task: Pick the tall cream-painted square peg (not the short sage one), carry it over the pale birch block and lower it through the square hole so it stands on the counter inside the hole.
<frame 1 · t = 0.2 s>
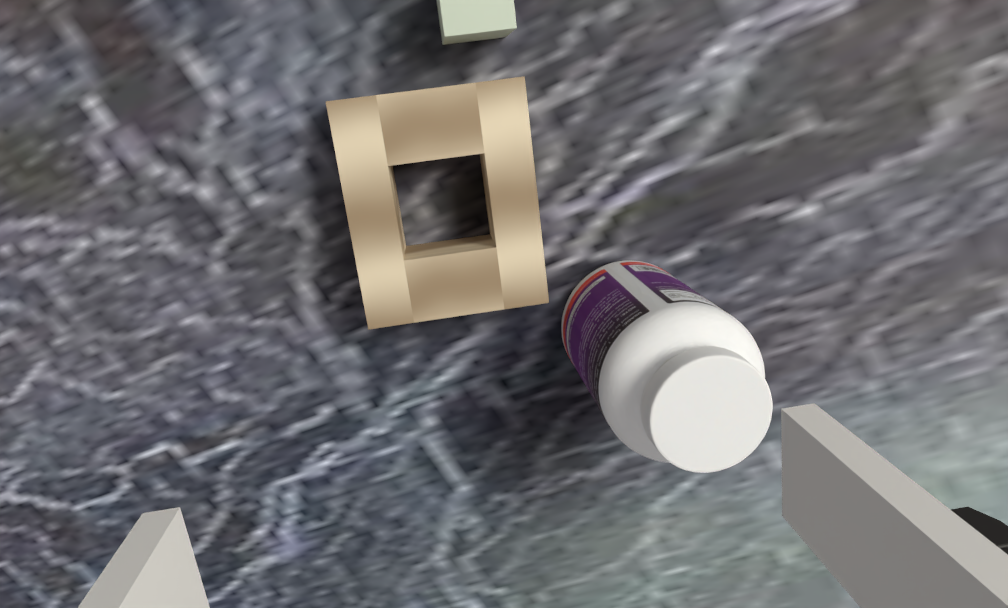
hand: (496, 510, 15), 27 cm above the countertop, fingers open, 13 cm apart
pill bottle: (620, 318, 44), on the countertop
short peg: (469, 6, 38), on the countertop
hole block: (441, 197, 41), on the countertop
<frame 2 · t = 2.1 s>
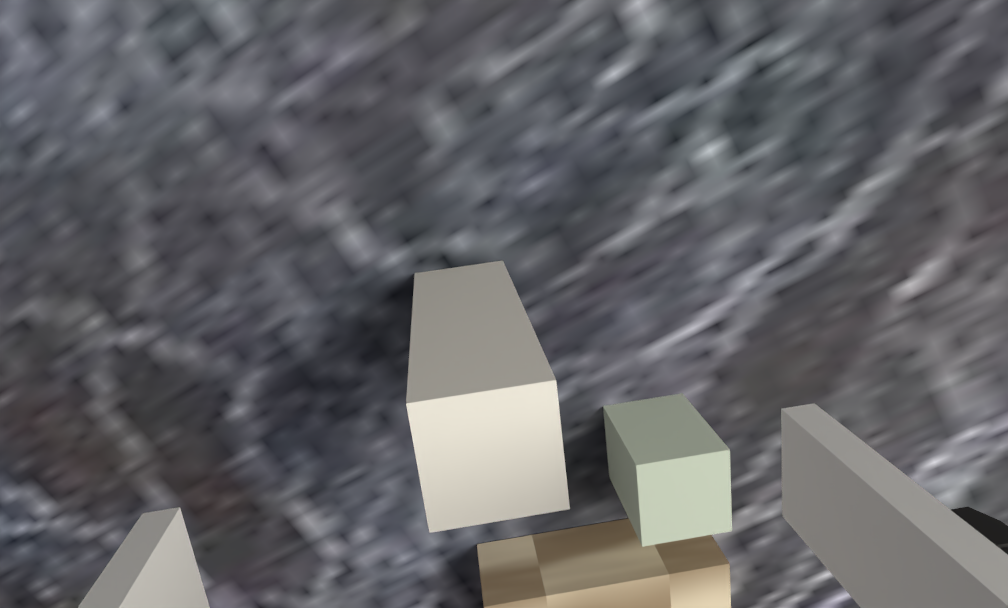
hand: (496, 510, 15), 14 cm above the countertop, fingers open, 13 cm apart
short peg: (645, 435, 31), on the countertop
long peg: (464, 308, 28), on the countertop
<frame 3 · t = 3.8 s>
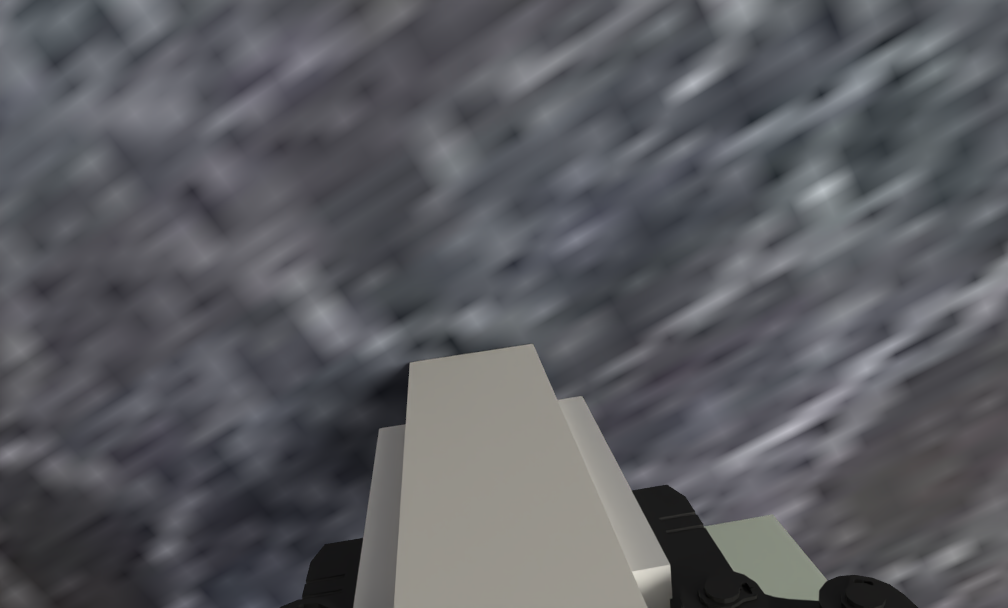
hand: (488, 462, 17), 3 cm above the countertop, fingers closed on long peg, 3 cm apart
short peg: (721, 569, 23), on the countertop
long peg: (479, 409, 20), on the countertop, touching gripper
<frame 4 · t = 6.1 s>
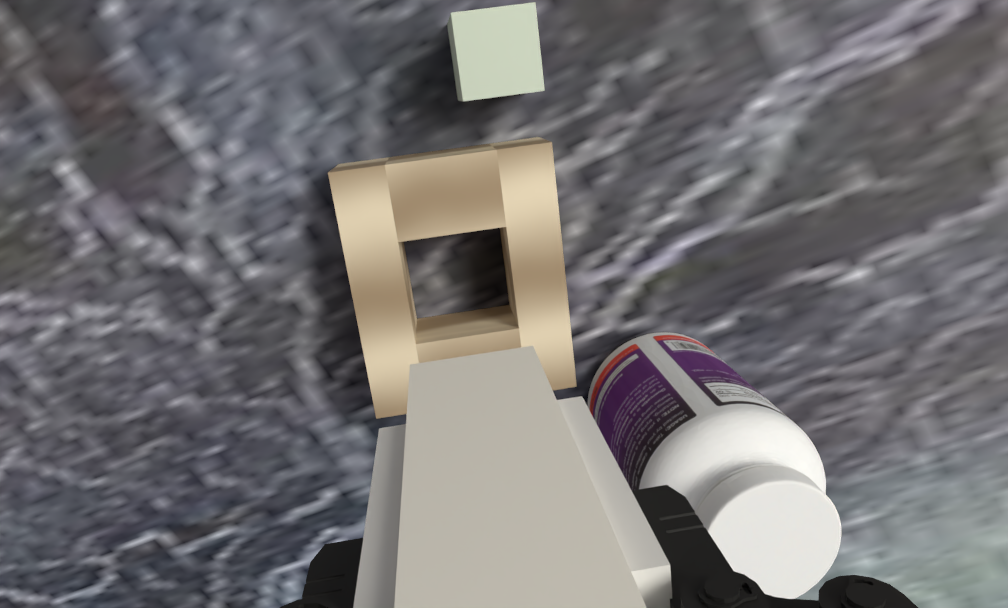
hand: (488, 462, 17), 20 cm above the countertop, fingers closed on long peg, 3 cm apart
pill bottle: (651, 391, 40), on the countertop
short peg: (488, 58, 34), on the countertop
hole block: (456, 266, 37), on the countertop
long peg: (480, 411, 20), point 17 cm above the countertop, touching gripper
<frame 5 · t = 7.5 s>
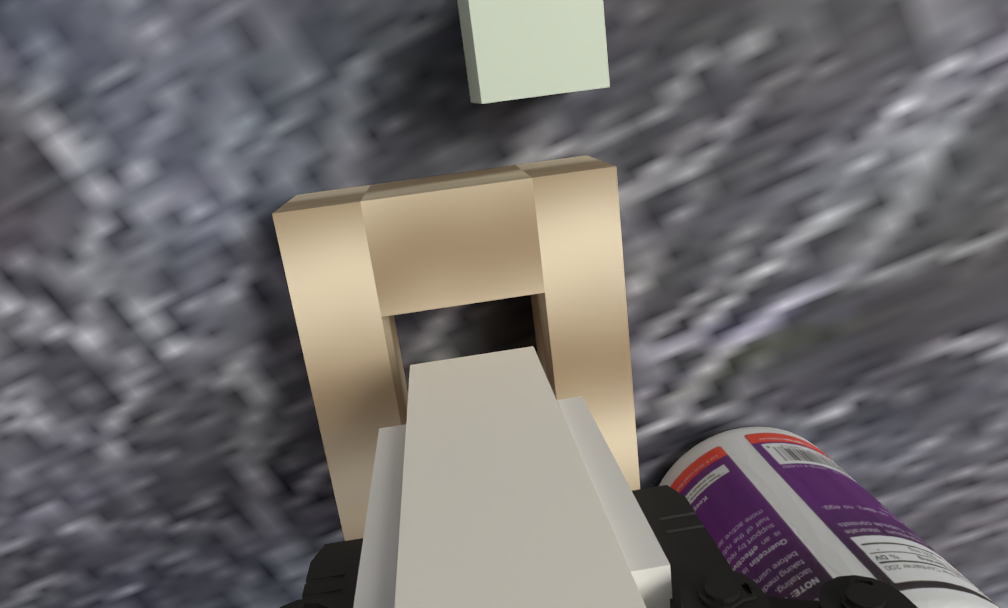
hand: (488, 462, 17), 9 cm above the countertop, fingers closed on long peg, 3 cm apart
pill bottle: (733, 501, 29), on the countertop
short peg: (516, 40, 23), on the countertop
hole block: (467, 338, 26), on the countertop
long peg: (480, 411, 20), point 6 cm above the countertop, touching gripper
when the fingers open (5 cm above the countertop, at t = 8.4 s): long peg drops 2 cm, resting in hole block.
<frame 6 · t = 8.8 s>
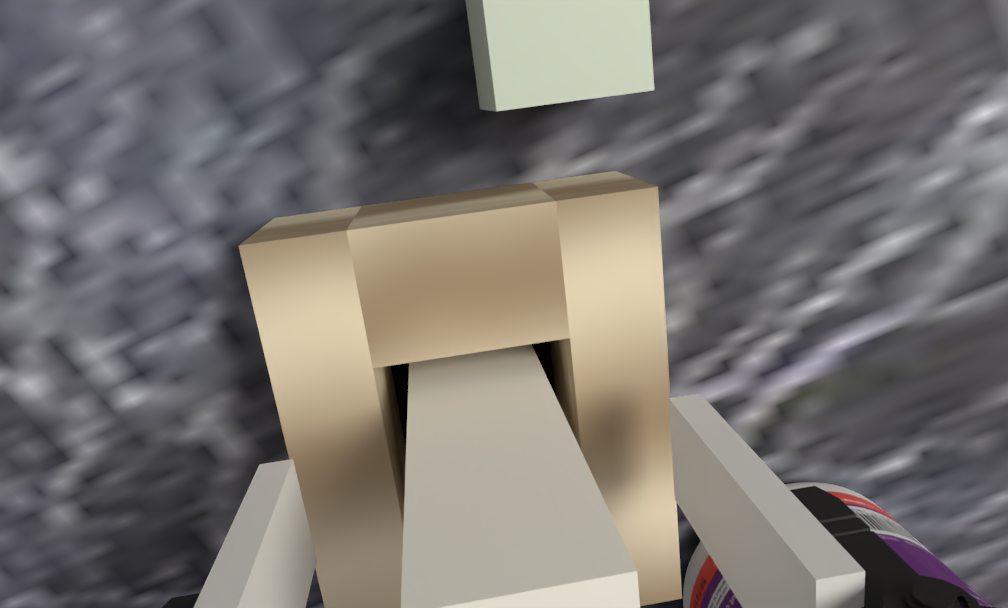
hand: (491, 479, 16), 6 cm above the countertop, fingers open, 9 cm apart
pill bottle: (778, 564, 26), on the countertop
short peg: (533, 36, 20), on the countertop
hole block: (475, 383, 22), on the countertop
long peg: (473, 384, 22), resting in hole block
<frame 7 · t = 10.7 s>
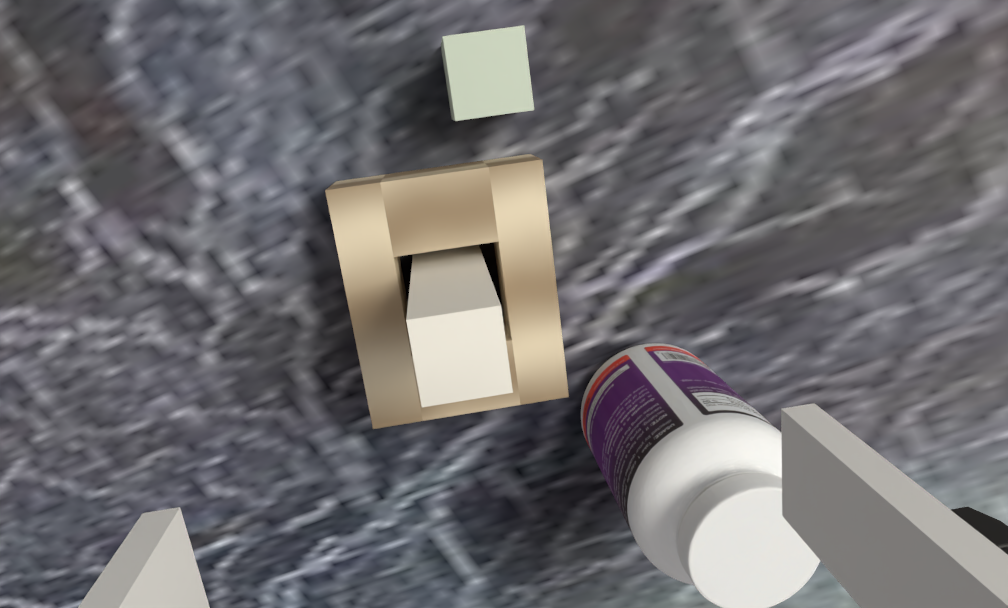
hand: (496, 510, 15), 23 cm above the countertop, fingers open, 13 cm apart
pill bottle: (644, 401, 41), on the countertop
short peg: (481, 78, 35), on the countertop
hole block: (451, 280, 38), on the countertop
long peg: (450, 280, 38), resting in hole block
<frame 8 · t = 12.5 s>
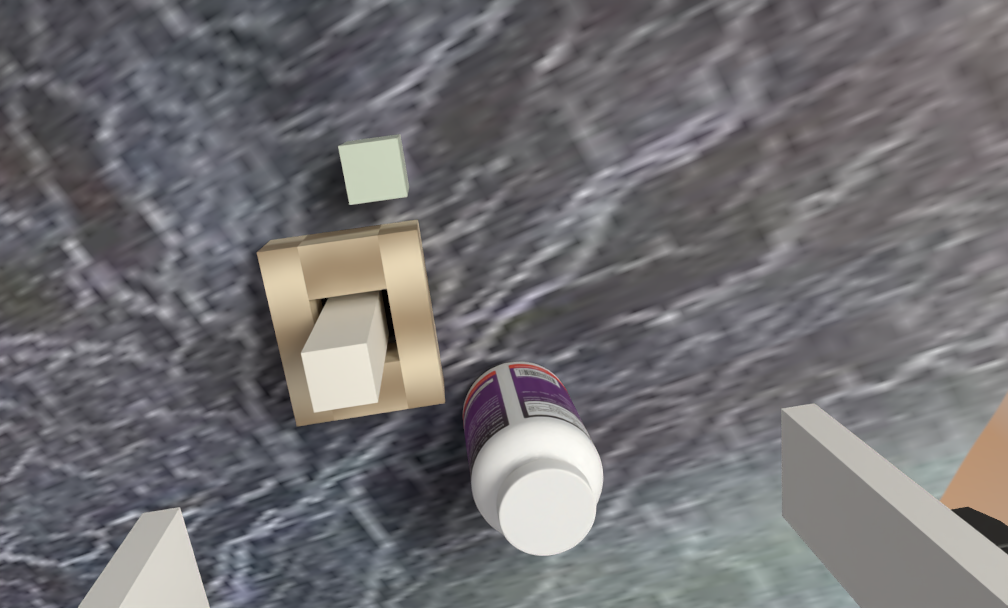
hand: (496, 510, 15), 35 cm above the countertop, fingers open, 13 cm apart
pill bottle: (515, 405, 53), on the countertop
short peg: (378, 164, 47), on the countertop
hole block: (360, 313, 49), on the countertop
long peg: (360, 313, 49), resting in hole block
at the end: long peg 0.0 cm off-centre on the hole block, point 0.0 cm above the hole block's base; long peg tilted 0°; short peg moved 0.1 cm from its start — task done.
